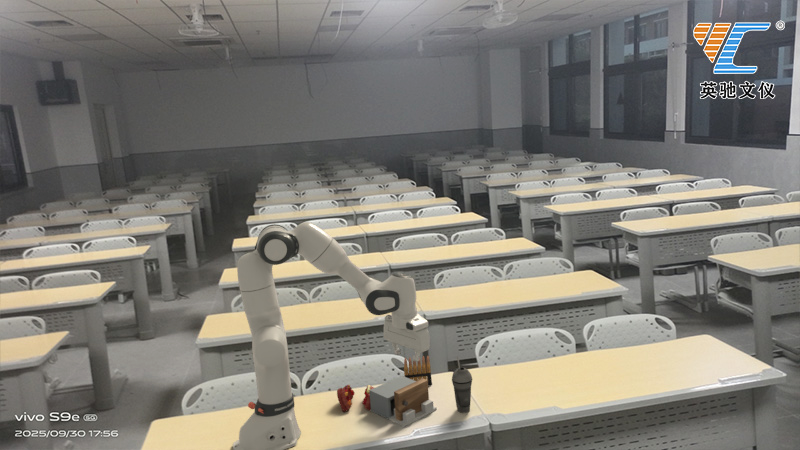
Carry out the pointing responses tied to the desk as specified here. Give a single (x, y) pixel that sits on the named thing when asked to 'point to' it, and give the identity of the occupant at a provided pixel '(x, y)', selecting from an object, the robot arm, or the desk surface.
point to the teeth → (347, 395)
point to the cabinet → (385, 402)
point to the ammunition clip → (421, 373)
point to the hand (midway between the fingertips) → (406, 357)
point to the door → (411, 397)
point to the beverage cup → (462, 388)
